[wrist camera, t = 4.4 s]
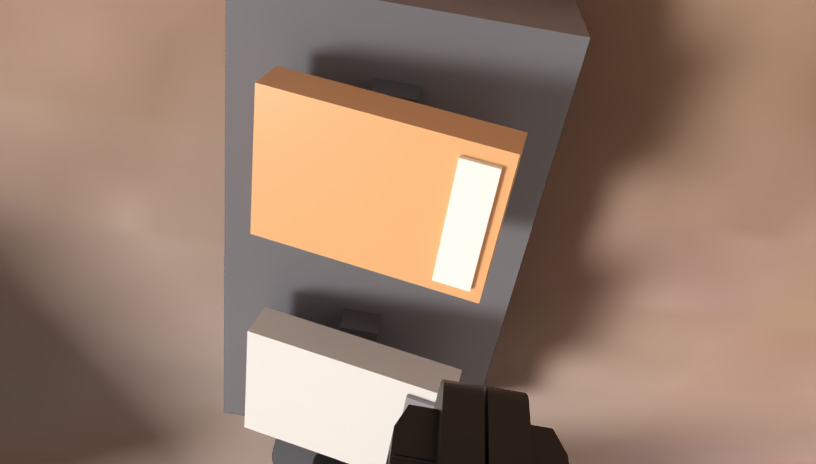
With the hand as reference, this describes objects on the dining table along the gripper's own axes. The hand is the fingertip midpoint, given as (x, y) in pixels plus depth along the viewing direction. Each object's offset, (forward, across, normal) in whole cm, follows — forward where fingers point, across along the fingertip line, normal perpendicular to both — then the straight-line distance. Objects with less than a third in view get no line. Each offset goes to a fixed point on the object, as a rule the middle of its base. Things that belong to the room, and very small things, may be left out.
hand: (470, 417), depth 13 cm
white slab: (+7, +2, +8) cm, 11 cm away
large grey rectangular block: (+12, +2, +4) cm, 13 cm away
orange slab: (+7, +2, 0) cm, 7 cm away
